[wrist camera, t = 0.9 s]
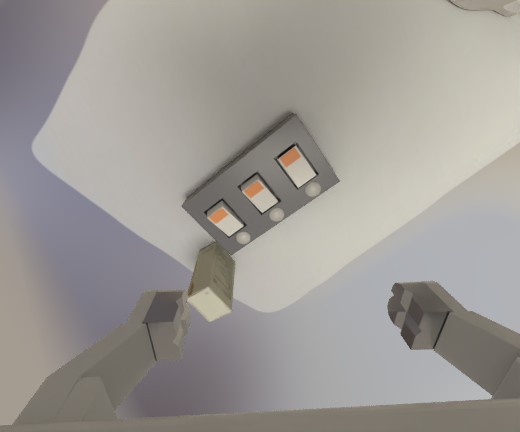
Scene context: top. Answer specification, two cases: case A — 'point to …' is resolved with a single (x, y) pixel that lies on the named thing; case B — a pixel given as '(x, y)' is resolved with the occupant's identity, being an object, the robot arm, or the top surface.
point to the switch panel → (275, 177)
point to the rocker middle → (259, 193)
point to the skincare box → (212, 283)
